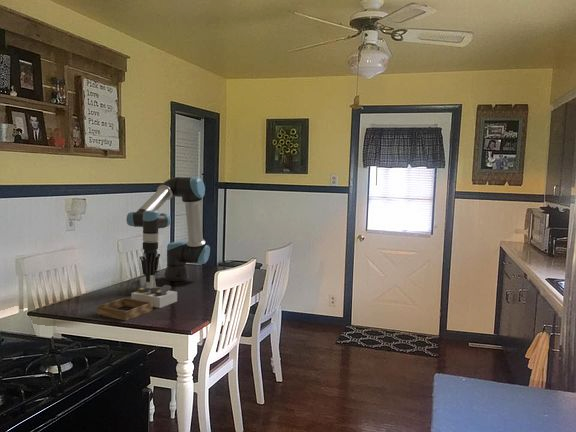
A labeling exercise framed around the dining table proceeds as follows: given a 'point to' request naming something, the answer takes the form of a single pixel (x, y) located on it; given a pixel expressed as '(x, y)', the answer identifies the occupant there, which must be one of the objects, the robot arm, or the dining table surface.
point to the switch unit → (156, 298)
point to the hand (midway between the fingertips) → (149, 287)
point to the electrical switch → (144, 282)
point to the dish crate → (113, 312)
